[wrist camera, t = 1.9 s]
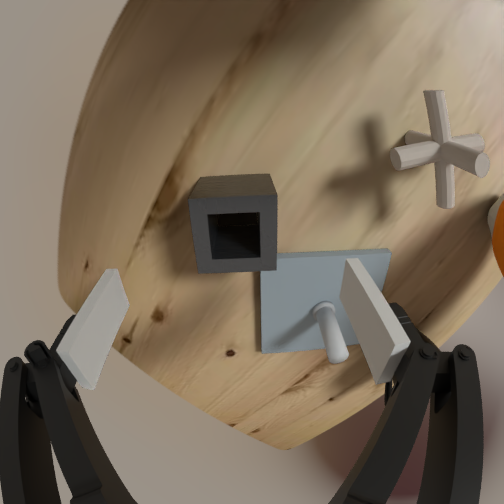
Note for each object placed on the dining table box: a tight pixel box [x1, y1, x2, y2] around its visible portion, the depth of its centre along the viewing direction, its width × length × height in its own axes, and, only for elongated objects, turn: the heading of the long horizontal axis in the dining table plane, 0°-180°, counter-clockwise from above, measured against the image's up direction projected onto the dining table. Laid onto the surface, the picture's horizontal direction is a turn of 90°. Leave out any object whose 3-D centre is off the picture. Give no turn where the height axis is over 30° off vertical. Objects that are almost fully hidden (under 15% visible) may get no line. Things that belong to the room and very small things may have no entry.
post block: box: [260, 249, 392, 364], centre depth 27 cm, size 14×14×8 cm
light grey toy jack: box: [390, 90, 490, 209], centre depth 17 cm, size 10×10×10 cm
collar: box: [188, 174, 277, 274], centre depth 22 cm, size 6×6×6 cm
